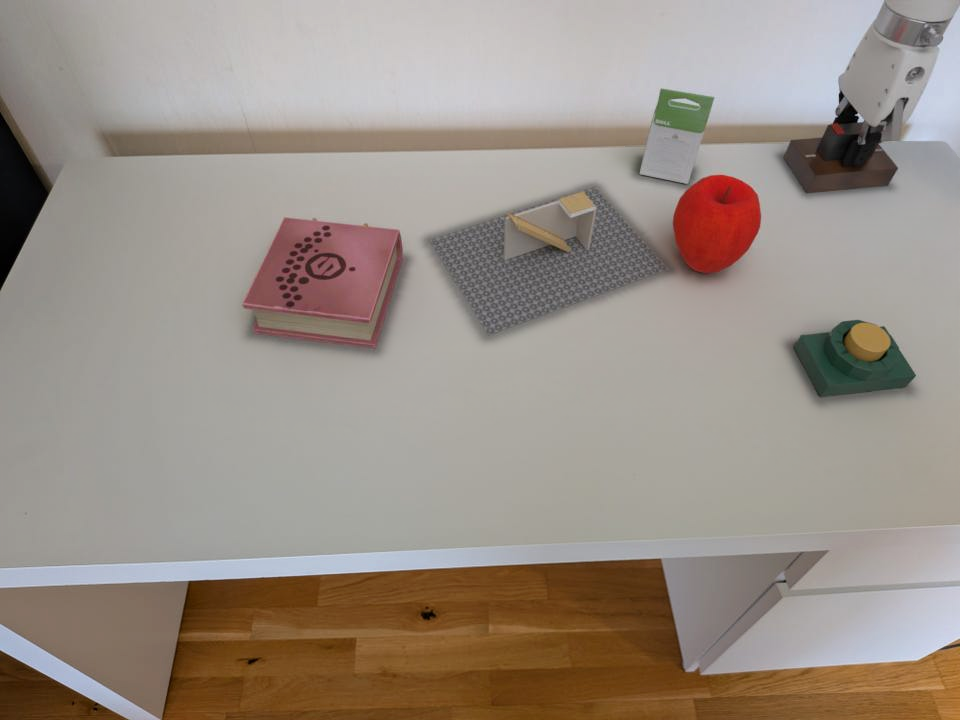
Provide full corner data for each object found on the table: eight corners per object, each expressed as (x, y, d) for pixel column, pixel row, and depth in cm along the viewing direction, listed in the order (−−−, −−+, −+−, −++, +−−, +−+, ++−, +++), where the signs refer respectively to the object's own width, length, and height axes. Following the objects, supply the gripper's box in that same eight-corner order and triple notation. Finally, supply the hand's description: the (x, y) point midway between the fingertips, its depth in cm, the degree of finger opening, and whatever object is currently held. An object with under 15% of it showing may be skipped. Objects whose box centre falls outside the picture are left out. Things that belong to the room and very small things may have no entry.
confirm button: (871, 330, 74) (879, 320, 73) (889, 359, 72) (898, 349, 71) (837, 334, 74) (844, 324, 73) (854, 363, 72) (861, 353, 70)
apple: (647, 245, 87) (668, 166, 78) (713, 228, 89) (742, 149, 80) (686, 299, 82) (714, 222, 72) (756, 280, 84) (793, 202, 74)
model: (589, 249, 87) (597, 202, 81) (515, 275, 84) (518, 228, 78) (576, 233, 89) (584, 186, 82) (503, 258, 86) (505, 211, 80)
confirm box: (875, 337, 78) (892, 315, 75) (906, 387, 74) (925, 365, 71) (793, 347, 77) (806, 324, 74) (819, 397, 73) (835, 376, 70)
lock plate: (860, 151, 100) (871, 132, 97) (887, 185, 95) (899, 167, 92) (783, 157, 99) (791, 138, 96) (806, 193, 94) (815, 174, 91)
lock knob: (863, 145, 95) (877, 119, 92) (871, 156, 94) (886, 130, 90) (816, 149, 95) (828, 123, 91) (823, 160, 93) (837, 134, 90)
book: (404, 254, 86) (400, 224, 82) (375, 348, 77) (369, 319, 73) (295, 242, 87) (286, 212, 83) (253, 333, 78) (242, 304, 74)
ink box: (692, 168, 97) (719, 81, 86) (687, 185, 95) (715, 98, 84) (643, 158, 98) (664, 71, 87) (638, 175, 96) (659, 87, 85)
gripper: (982, 58, 75) (899, 190, 90) (904, -13, 85) (841, 116, 100) (918, 62, 74) (845, 195, 89) (847, -10, 84) (792, 120, 99)
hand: (844, 152), depth 94 cm, fingers open, 4 cm apart
